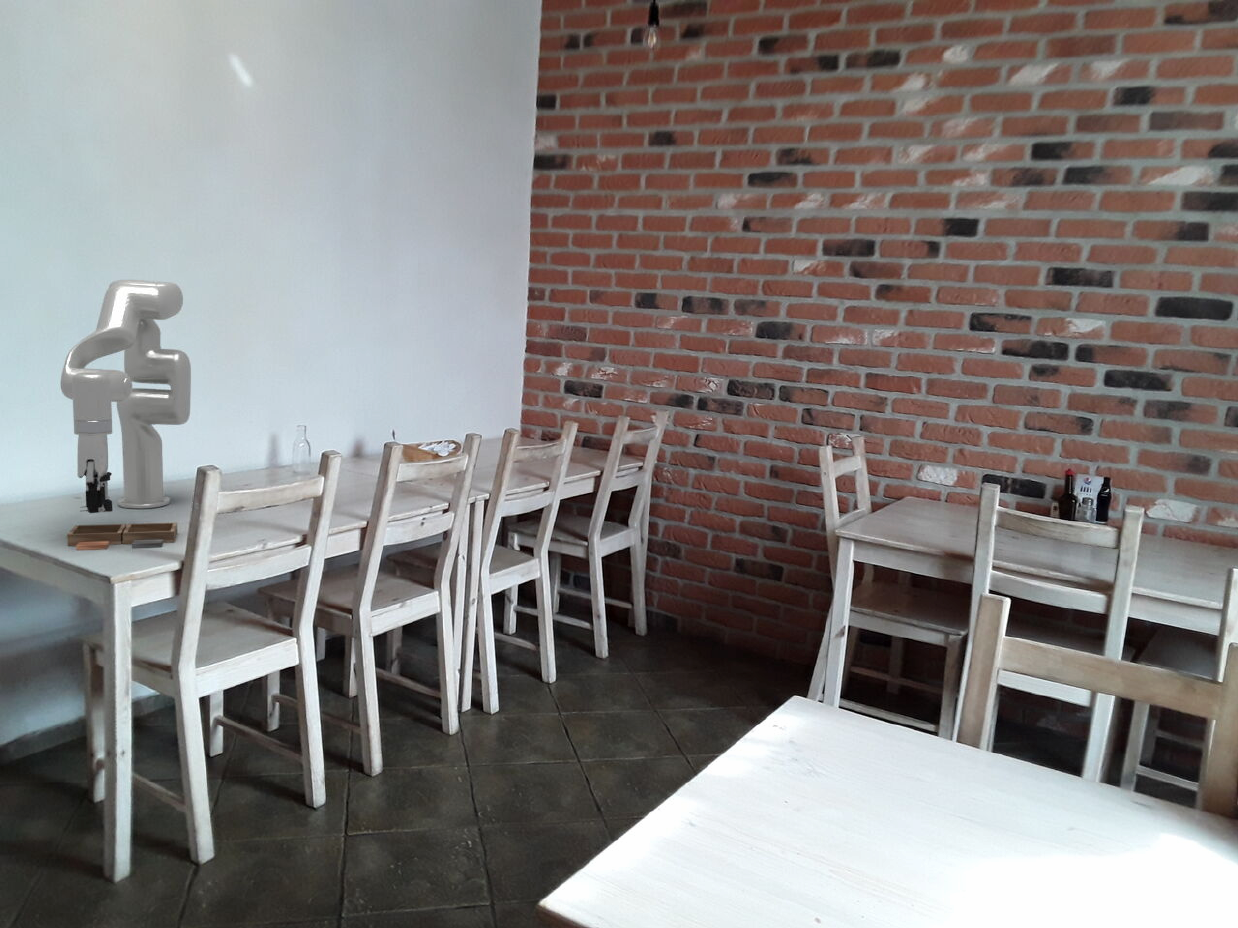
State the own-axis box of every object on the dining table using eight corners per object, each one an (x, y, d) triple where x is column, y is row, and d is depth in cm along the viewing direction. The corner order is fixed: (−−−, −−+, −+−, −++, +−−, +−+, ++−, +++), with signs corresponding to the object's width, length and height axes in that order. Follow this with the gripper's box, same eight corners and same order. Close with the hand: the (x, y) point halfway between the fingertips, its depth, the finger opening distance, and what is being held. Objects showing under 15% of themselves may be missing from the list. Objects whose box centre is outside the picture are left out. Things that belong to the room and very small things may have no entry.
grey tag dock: (128, 534, 210) (127, 523, 210) (177, 532, 214) (177, 522, 213) (120, 548, 199) (120, 537, 198) (172, 546, 203) (172, 535, 202)
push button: (83, 515, 198) (81, 472, 197) (77, 511, 202) (75, 468, 200) (115, 512, 203) (114, 470, 201) (109, 508, 207) (107, 466, 205)
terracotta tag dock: (75, 535, 206) (74, 525, 205) (126, 534, 210) (126, 523, 209) (64, 550, 195) (63, 539, 194) (118, 548, 199) (118, 537, 198)
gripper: (81, 421, 205) (84, 497, 209) (66, 432, 190) (70, 514, 193) (117, 422, 208) (120, 497, 211) (105, 432, 193) (108, 513, 196)
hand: (96, 504), depth 202 cm, fingers closed on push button, 3 cm apart
